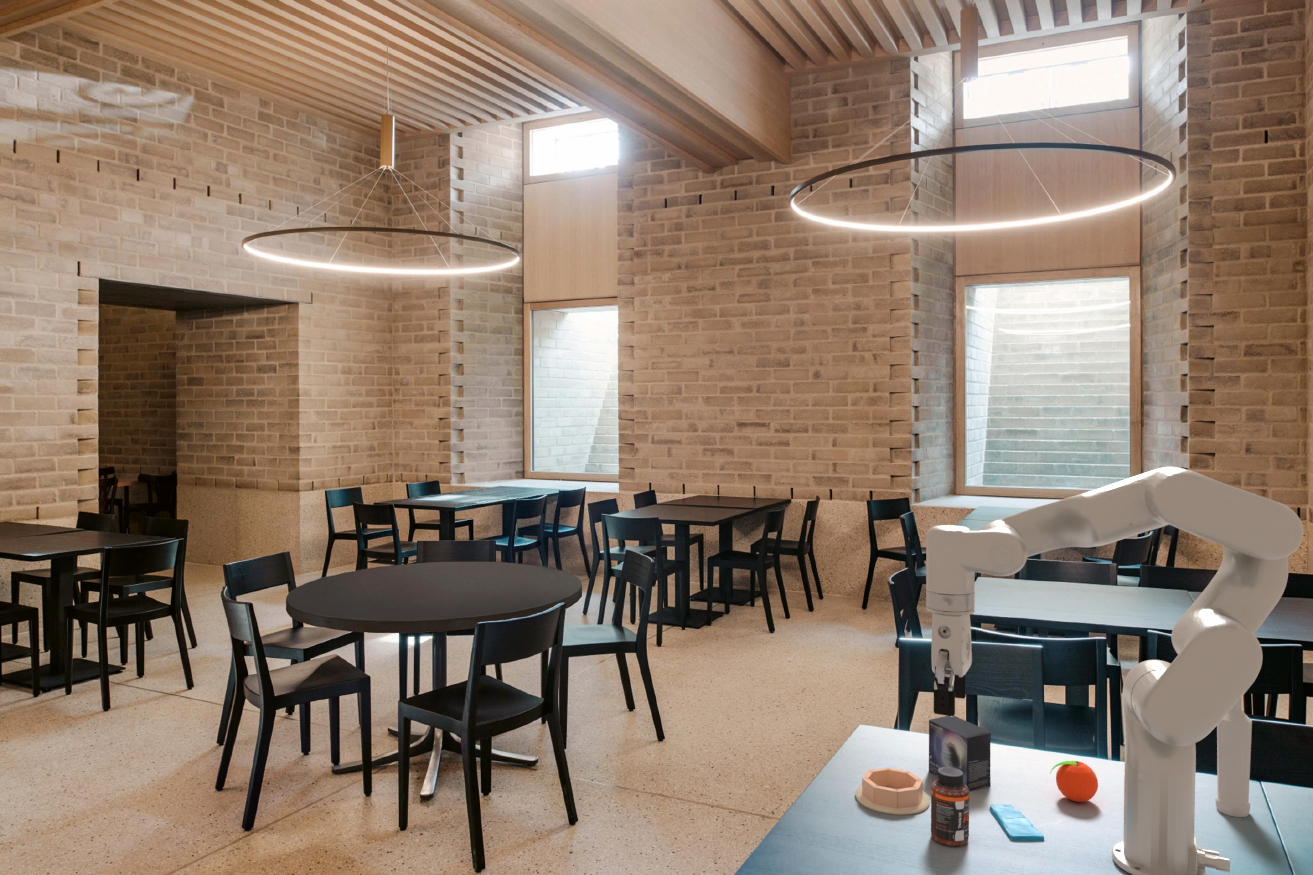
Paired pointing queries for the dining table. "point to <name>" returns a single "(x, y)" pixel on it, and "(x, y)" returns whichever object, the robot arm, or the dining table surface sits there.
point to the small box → (960, 749)
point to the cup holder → (892, 792)
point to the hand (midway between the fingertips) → (950, 705)
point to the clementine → (1076, 781)
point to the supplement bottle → (950, 808)
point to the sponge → (1015, 823)
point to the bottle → (1234, 762)
